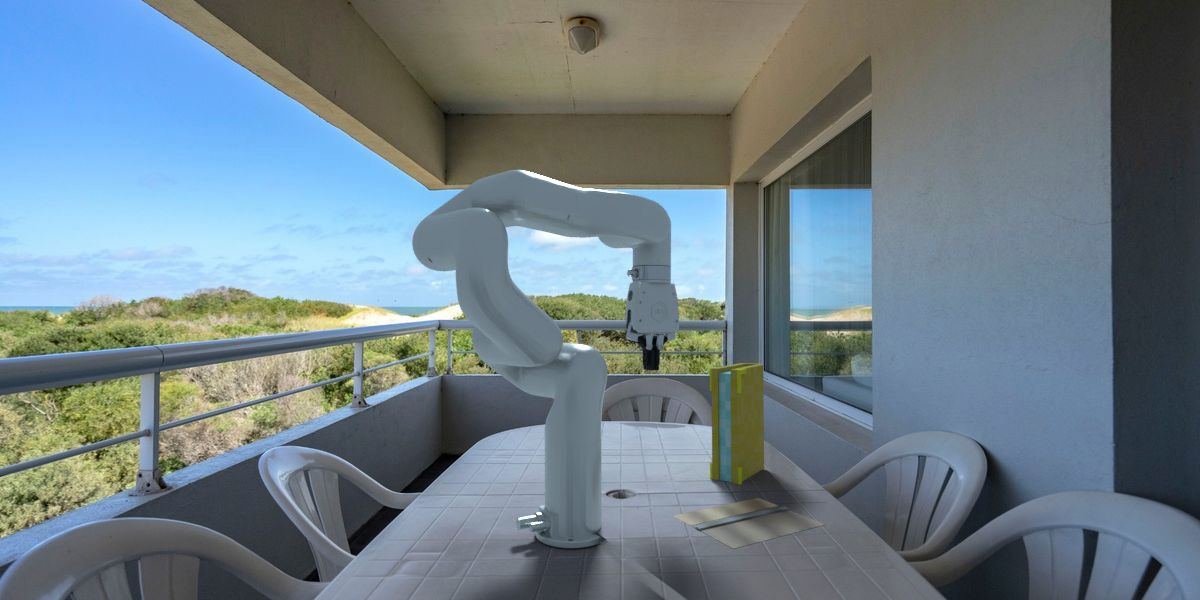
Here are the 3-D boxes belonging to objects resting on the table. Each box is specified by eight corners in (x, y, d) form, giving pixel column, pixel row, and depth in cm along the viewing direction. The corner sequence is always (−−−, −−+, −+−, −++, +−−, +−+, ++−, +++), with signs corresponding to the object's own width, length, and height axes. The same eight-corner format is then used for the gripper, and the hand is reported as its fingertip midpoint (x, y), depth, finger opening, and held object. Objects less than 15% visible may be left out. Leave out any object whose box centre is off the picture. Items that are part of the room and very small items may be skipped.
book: (740, 491, 115) (739, 370, 115) (710, 485, 119) (709, 368, 119) (769, 473, 128) (768, 364, 129) (742, 468, 132) (741, 362, 133)
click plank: (690, 534, 93) (690, 525, 93) (656, 516, 101) (656, 507, 101) (778, 513, 102) (778, 505, 102) (740, 498, 111) (740, 490, 111)
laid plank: (733, 558, 83) (733, 546, 83) (692, 535, 92) (691, 524, 92) (825, 533, 93) (825, 522, 93) (780, 514, 102) (779, 504, 102)
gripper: (628, 273, 103) (627, 372, 102) (694, 276, 110) (693, 370, 109) (609, 276, 110) (608, 369, 109) (672, 279, 117) (672, 367, 116)
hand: (651, 369), depth 109 cm, fingers closed
